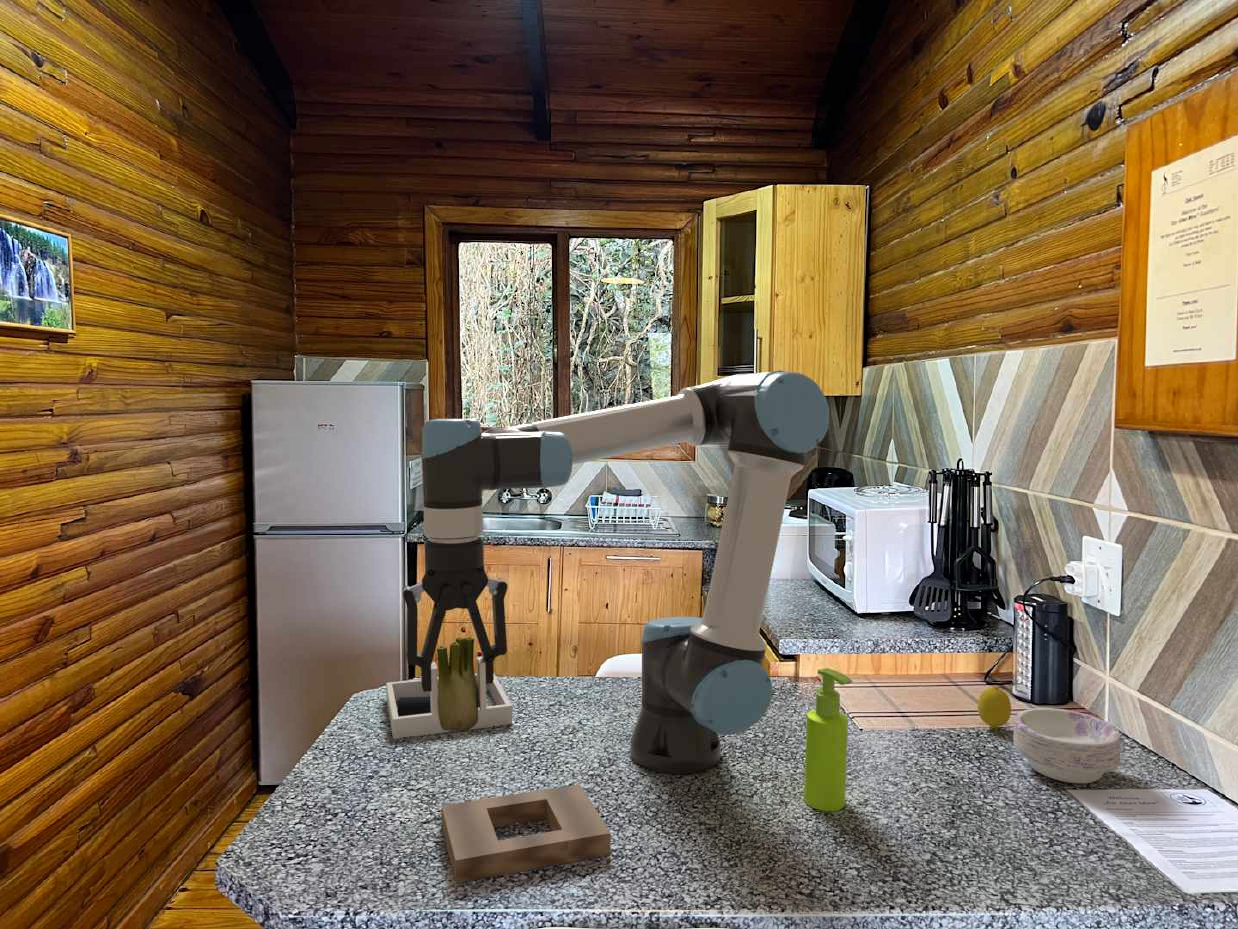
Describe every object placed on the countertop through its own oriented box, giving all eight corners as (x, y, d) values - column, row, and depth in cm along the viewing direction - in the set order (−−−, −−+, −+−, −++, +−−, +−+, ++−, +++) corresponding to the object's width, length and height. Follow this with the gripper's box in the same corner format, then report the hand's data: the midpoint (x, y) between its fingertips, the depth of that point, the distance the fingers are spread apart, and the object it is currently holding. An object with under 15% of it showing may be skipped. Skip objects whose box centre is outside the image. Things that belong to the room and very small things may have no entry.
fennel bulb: (440, 738, 103) (437, 647, 102) (433, 724, 108) (430, 637, 107) (484, 731, 105) (482, 641, 104) (476, 717, 110) (474, 631, 109)
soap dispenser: (827, 818, 115) (832, 682, 113) (796, 796, 121) (800, 667, 119) (858, 809, 118) (863, 676, 116) (825, 788, 124) (830, 661, 122)
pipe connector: (406, 679, 155) (485, 677, 157) (406, 706, 155) (485, 703, 157) (396, 703, 144) (481, 700, 145) (397, 731, 144) (481, 728, 146)
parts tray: (493, 688, 164) (493, 672, 164) (512, 724, 146) (512, 705, 146) (386, 700, 157) (386, 682, 157) (393, 739, 140) (392, 719, 139)
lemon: (1009, 726, 149) (1011, 684, 148) (1010, 737, 144) (1012, 693, 143) (976, 720, 151) (979, 679, 150) (976, 731, 146) (978, 688, 145)
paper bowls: (991, 759, 135) (993, 713, 134) (1054, 745, 141) (1057, 701, 140) (1074, 801, 121) (1077, 750, 120) (1140, 783, 127) (1144, 735, 126)
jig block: (579, 804, 118) (579, 784, 118) (610, 855, 105) (610, 833, 105) (441, 826, 111) (441, 805, 111) (455, 883, 98) (455, 860, 98)
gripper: (518, 528, 111) (521, 691, 113) (378, 537, 105) (384, 709, 107) (530, 537, 104) (533, 711, 106) (380, 547, 98) (387, 731, 100)
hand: (458, 710), depth 106 cm, fingers closed on fennel bulb, 5 cm apart
